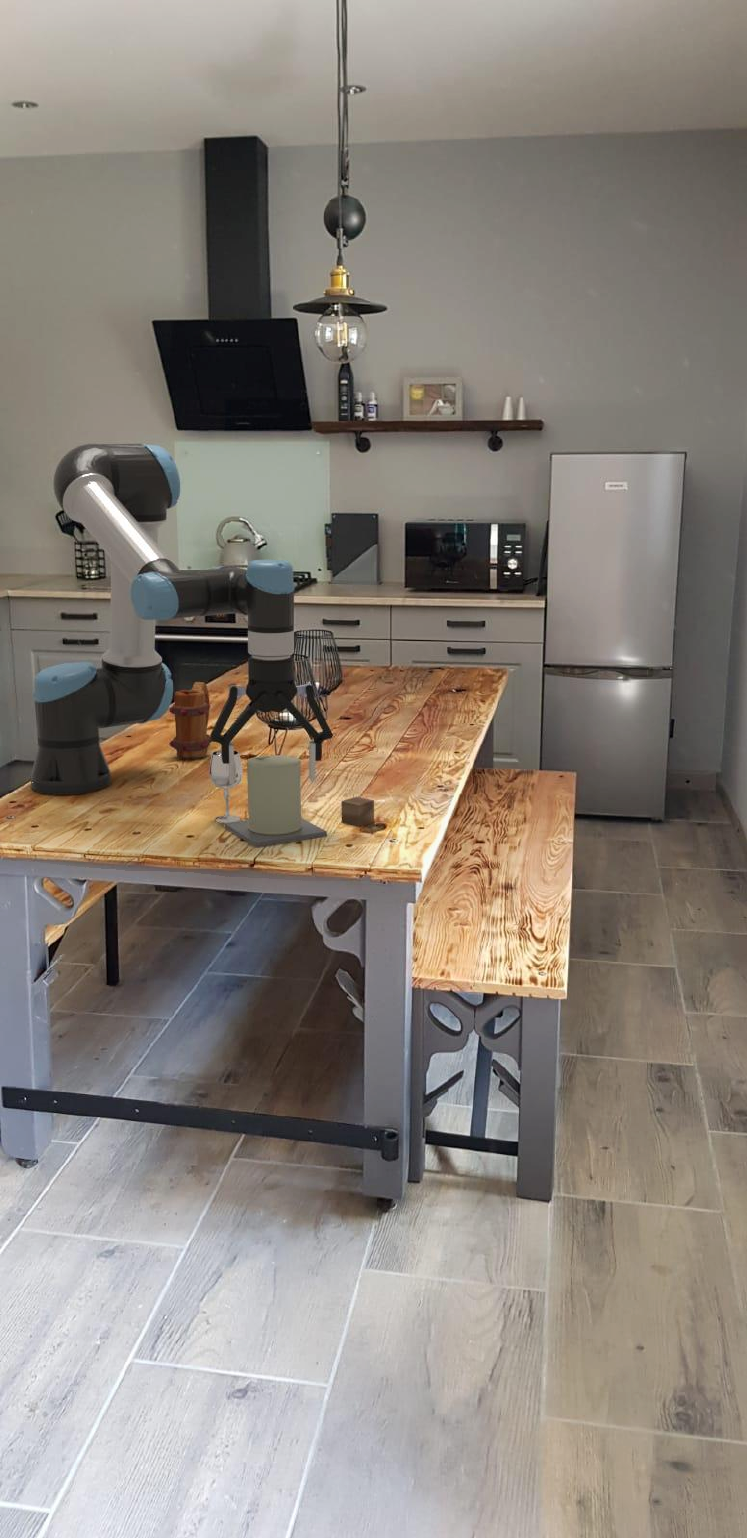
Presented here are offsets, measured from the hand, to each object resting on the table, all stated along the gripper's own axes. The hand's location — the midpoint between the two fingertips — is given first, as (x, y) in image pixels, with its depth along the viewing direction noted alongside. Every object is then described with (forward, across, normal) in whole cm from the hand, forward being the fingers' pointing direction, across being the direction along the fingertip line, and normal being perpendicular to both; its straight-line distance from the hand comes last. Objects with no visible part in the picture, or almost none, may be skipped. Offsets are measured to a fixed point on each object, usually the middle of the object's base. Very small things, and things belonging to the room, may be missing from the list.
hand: (272, 780), depth 206 cm
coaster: (+9, 0, +1) cm, 9 cm away
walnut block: (+9, -15, -3) cm, 18 cm away
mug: (+10, +11, -60) cm, 62 cm away
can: (+8, 0, +1) cm, 8 cm away
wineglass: (+9, +7, -8) cm, 14 cm away
